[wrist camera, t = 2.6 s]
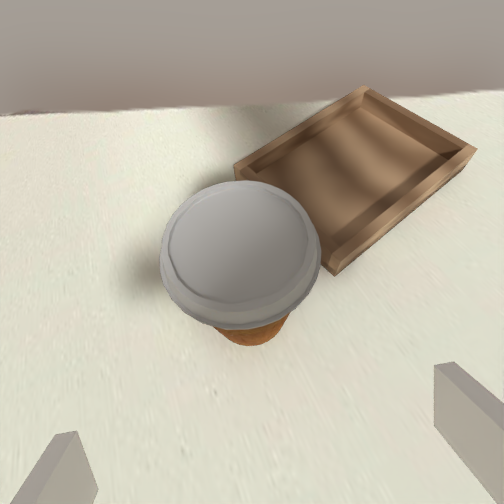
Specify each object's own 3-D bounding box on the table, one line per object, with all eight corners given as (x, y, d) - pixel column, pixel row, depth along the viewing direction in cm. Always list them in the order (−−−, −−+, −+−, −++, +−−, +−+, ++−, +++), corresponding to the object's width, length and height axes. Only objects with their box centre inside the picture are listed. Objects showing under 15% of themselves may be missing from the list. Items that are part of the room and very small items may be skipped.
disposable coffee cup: (181, 349, 26) (122, 297, 16) (216, 254, 31) (188, 164, 20) (292, 380, 25) (307, 344, 14) (312, 274, 29) (335, 187, 19)
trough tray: (357, 107, 41) (363, 84, 38) (462, 170, 34) (477, 148, 32) (236, 184, 35) (233, 165, 33) (334, 276, 29) (340, 261, 26)
